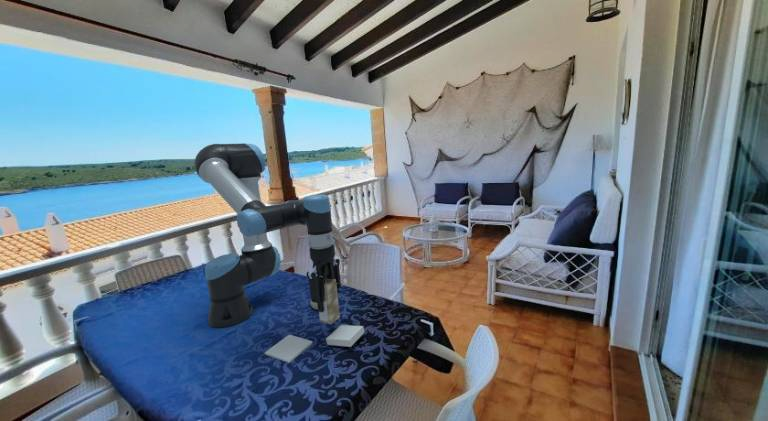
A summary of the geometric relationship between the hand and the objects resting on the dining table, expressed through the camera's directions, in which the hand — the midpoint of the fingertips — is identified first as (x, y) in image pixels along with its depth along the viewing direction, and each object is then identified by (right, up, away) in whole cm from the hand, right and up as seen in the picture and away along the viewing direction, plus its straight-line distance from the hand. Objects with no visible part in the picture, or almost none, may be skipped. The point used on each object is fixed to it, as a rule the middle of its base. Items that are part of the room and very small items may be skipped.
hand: (329, 315), depth 95 cm
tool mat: (-12, -9, -3) cm, 15 cm away
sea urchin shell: (-7, -4, +23) cm, 24 cm away
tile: (+1, -6, +1) cm, 6 cm away
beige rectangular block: (0, -1, 0) cm, 1 cm away
